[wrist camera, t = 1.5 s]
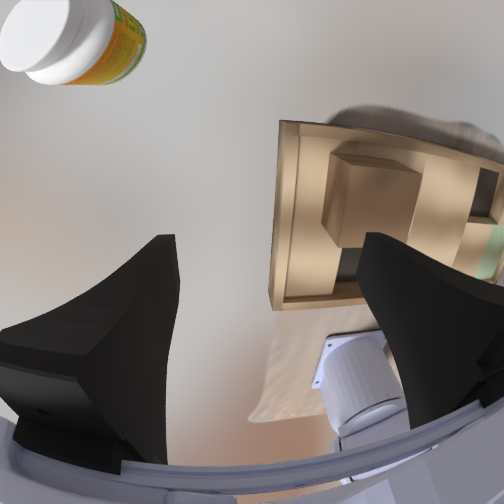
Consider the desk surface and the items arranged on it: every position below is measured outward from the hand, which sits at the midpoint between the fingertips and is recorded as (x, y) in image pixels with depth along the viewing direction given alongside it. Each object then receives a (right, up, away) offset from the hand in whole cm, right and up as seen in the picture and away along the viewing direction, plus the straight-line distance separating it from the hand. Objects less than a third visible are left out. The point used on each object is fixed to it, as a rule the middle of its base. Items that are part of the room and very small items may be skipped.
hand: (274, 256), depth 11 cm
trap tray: (+15, +3, +12) cm, 19 cm away
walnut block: (+7, +4, +8) cm, 11 cm away
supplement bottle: (-10, +14, +3) cm, 18 cm away
